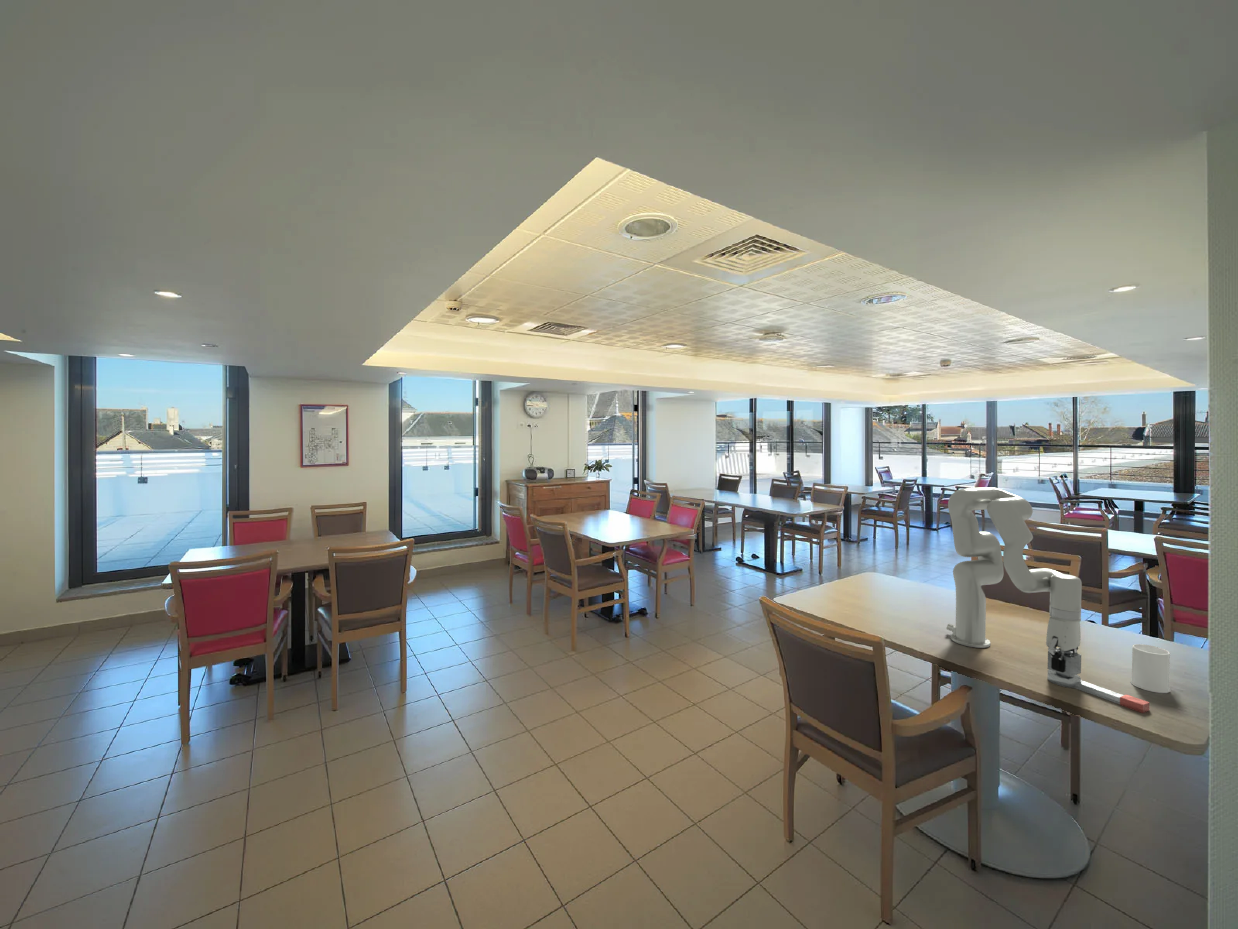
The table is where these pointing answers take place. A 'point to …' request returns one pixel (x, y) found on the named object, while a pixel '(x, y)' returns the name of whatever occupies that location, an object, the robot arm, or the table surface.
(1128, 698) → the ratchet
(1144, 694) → the table surface
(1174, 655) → the table surface
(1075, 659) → the cube with domed knob
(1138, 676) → the mug
